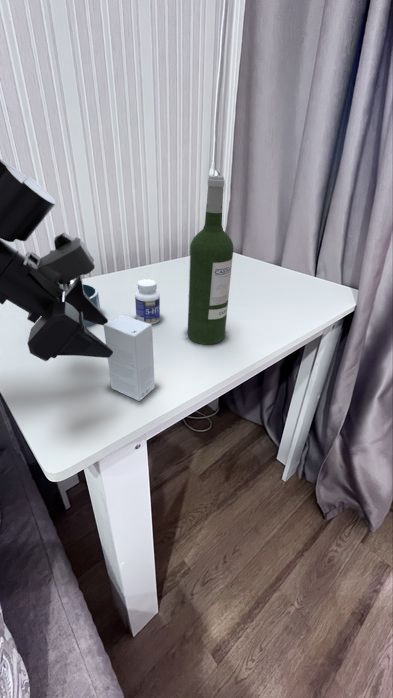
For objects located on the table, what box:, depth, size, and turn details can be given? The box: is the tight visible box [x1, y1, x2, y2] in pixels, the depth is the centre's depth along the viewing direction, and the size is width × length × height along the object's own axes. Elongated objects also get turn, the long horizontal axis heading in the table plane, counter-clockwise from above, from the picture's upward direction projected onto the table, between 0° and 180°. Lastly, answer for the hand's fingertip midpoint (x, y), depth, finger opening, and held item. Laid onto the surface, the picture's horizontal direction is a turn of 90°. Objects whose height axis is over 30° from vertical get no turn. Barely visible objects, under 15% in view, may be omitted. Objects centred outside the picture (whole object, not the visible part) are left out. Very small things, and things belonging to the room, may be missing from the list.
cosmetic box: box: [102, 314, 156, 402], centre depth 51 cm, size 6×4×12 cm
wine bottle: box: [187, 175, 234, 346], centre depth 62 cm, size 8×8×30 cm
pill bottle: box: [134, 278, 161, 325], centre depth 73 cm, size 5×5×9 cm
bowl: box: [82, 282, 101, 328], centre depth 73 cm, size 11×11×6 cm
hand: (108, 337), depth 48 cm, fingers open, 9 cm apart
